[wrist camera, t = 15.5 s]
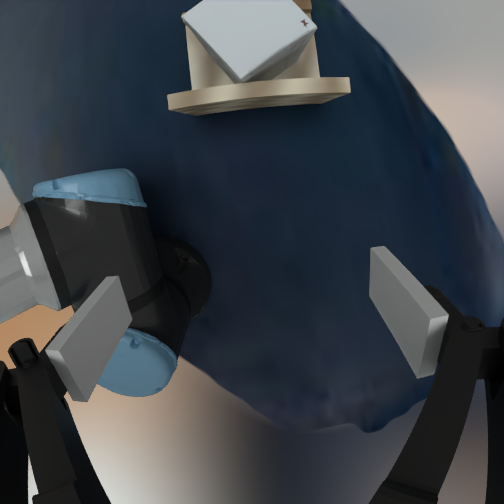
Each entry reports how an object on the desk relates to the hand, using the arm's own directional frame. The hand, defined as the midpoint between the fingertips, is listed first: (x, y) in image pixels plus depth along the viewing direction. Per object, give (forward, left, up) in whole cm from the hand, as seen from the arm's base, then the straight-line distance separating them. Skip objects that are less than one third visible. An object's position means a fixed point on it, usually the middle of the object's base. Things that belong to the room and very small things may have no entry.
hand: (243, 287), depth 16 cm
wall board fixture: (+2, +19, -33) cm, 38 cm away
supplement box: (+2, +19, -32) cm, 37 cm away
